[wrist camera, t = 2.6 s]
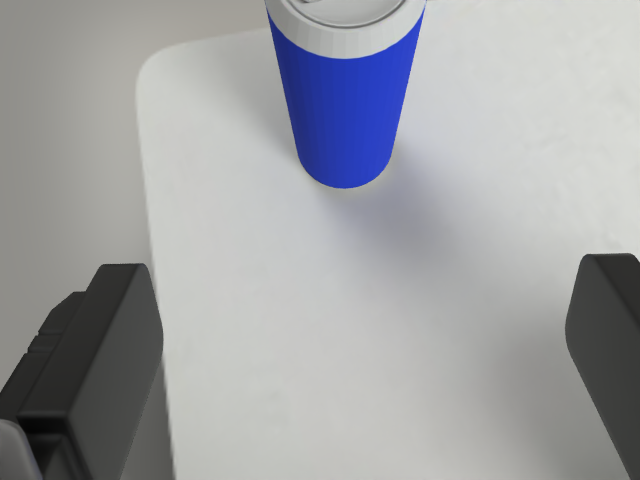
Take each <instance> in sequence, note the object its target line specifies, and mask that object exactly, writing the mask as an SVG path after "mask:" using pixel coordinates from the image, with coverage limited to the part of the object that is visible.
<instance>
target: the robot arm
mask: <svg viewBox="0 0 640 480" xmlns="http://www.w3.org/2000/svg"><path fill="white" fill-rule="evenodd" d="M38 332H39V334H38V336H35V338H34V339H33V341H32V342H31V344H30V346H29V347H28V352H27V353H25V354H24V355H23V357H22V358H21V360H20V362H19V363H18V365H17V366H16V368H15V370H14V371H13V373H12V375H11V376H10V378H9V380H8V381H7V383H6V384H5V386H4V387H3V389H2V391H1V392H0V480H120V477H121V474H122V471H123V468H124V465H125V462H126V460H127V457H128V454H129V451H130V447H131V445H132V442H133V439H134V436H135V433H136V430H137V427H138V424H139V421H140V418H141V416H142V412H143V410H144V407H145V404H146V401H147V398H148V395H149V392H150V389H151V386H152V383H153V380H154V377H155V374H156V371H157V368H158V366H159V363H160V360H161V356H162V351H163V328H162V323H161V319H160V315H159V311H158V306H157V302H156V298H155V294H154V290H153V286H152V282H151V278H150V274H149V271H148V268H147V267H146V265H145V264H143V263H140V264H139V263H138V264H103V265H101V266H100V267H99V269H98V271H97V272H96V274H95V276H94V277H93V279H92V281H91V283H90V285H89V286H88V288H87V290H86V291H84V292H73V293H72V294H70V295H69V296H68V297H67V298H66V299H64V300H63V301H62V302H61V303H60V304H58V305H57V306H56V307H55V308H53V309H52V310H51V312H50V313H49V315H48V317H47V318H46V320H45V322H44V323H43V325H42V326H41V328H40V329H39V331H38ZM565 334H566V342H567V346H568V350H569V352H570V355H571V357H572V359H573V361H574V363H575V365H576V367H577V369H578V371H579V373H580V376H581V378H582V380H583V382H584V384H585V386H586V388H587V390H588V392H589V394H590V396H591V398H592V400H593V402H594V405H595V407H596V409H597V411H598V413H599V415H600V417H601V419H602V421H603V423H604V425H605V427H606V429H607V432H608V434H609V436H610V438H611V440H612V442H613V444H614V446H615V448H616V450H617V452H618V454H619V456H620V458H621V461H622V463H623V465H624V467H625V469H626V471H627V473H628V475H629V477H630V479H631V480H640V262H639V261H638V259H637V258H636V257H635V256H634V255H632V254H630V253H618V254H587V255H585V256H584V257H583V258H582V260H581V262H580V265H579V269H578V273H577V277H576V281H575V285H574V289H573V293H572V297H571V301H570V305H569V309H568V313H567V317H566V324H565Z"/></svg>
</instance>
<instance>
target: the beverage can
mask: <svg viewBox="0 0 640 480" xmlns="http://www.w3.org/2000/svg"><path fill="white" fill-rule="evenodd" d="M426 1H427V0H265V4H266V9H267V14H268V18H269V23H270V28H271V32H272V37H273V41H274V46H275V51H276V55H277V60H278V65H279V69H280V74H281V79H282V83H283V88H284V93H285V97H286V102H287V106H288V111H289V116H290V120H291V125H292V130H293V134H294V139H295V144H296V148H297V153H298V157H299V159H300V162H301V164H302V165H303V167H304V168H305V170H306V171H307V172H308V173H309V174H310V175H311V176H312V177H313V178H314V179H315V180H317V181H319V182H320V183H322V184H325V185H327V186H330V187H334V188H343V189H346V188H354V187H359V186H362V185H364V184H367V183H368V182H370V181H372V180H373V179H375V178H376V177H377V176H378V175H379V174H380V173H381V172H382V171H383V170H384V168H385V167H386V165H387V164H388V162H389V159H390V157H391V153H392V149H393V145H394V140H395V136H396V132H397V127H398V123H399V119H400V114H401V110H402V105H403V101H404V97H405V92H406V88H407V84H408V79H409V75H410V71H411V66H412V62H413V58H414V53H415V49H416V45H417V40H418V36H419V31H420V27H421V23H422V18H423V14H424V10H425V5H426Z"/></svg>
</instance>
